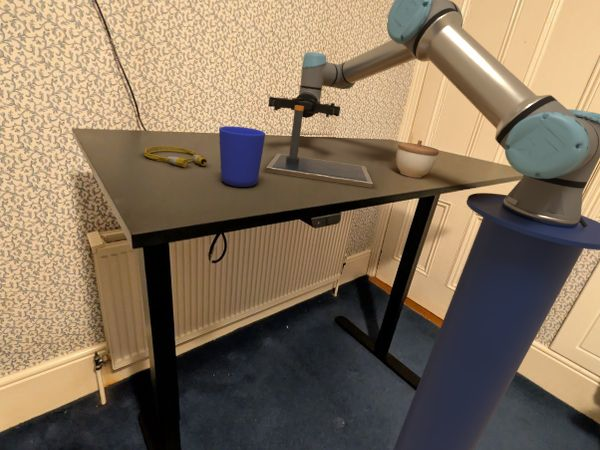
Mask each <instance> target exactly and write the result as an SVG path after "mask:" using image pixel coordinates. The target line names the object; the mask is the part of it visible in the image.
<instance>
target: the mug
mask: <svg viewBox="0 0 600 450" xmlns="http://www.w3.org/2000/svg"><path fill="white" fill-rule="evenodd" d="M218 133H219V135H218V136H219V154H220V156H219V157H220V175H221V179H222V182H224V183H225V184H226V185H228V186H231V187H235V188H237V187H238V188H249V187H253V186H255V185H256V184H257V182H258V180H259V177H260V170H261V163H262V162H261V161H262V157H263V152H264V145H265V139H266V132H265V131H263V130H260V129H256V128H251V127H244V126H232V125H231V126H220V127H219V129H218Z"/></svg>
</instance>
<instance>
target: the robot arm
mask: <svg viewBox="0 0 600 450" xmlns="http://www.w3.org/2000/svg"><path fill="white" fill-rule="evenodd" d="M463 17H464V16H463V14H462V10H461V8H460V7H459V6H458V5H457V4H456V3H455V2H454V1H452V0H394V1H393V3H392V4H391V6H390V9H389V12H388V14H387V21H386V30H387V34H388V36H389V38H390V40H388V41H386V42H384V43H381V44H380V45H378V46H376V47H374V48H371V49H369V50H367V51H364V52H363V53H361V54H358V55H357V56H354V57H352V58H350V59H347V60H346V61H344V62H341V63H339V64H338V63H334V62H329V61H327V55H326V54H324V53H322V52H321V53H320V52H315V51H314V52H313V51H308V52H305V53H304V55H303V60H302V64H301V77H300V85H299V92H298V95H297V97H292V98H291V99H290V98H288V97H275V96H274V97H273V96H269V97H268V107H269V108H272V107H273V110H274V111H278V110H281V109H290V110H291V111H295V110H294V109H295V105H299V106H304V110H303V116H302V118H305V119H309V118H312V117H314V116H315V115H316V114H324V115H325V117H326V118H329V117H331V116H334V117H340V113H341V106H338V105H335V104H336V103H334V102H330V104H329V103H321V97H322V91H323V87H329V88H334V89H338V90H349V89H352V88H353V86H354V85H355V84H356V83H357V82H360V81H363V80H365V79H367V78H370V77H373V76H375V75H378V74H380V73H383V72H386V71H388V70H391V69H393V68H397V67H399V66H402V65H404V64H407V63H409V62H411V61H415V60H417V61H420V62H431V64H433V66H434V67H436V69H437V70H439V71H440V73H441V74H442V75H443V76H444V77H445V78H446V79H447V80H448V81H449V82H450V83H451V84H452V86H454V87H455V88H456V89H457V90H458V91H459V92H460V94H462V95H463V96H464V97H465V98H466V99H467V100H468V102H470V104H472V105H473V106H474V107H475V108H476V110H477V111H478V112H479V113H480V114H481V115H482V116H483V117H484V118H485V119H486V121H488V123H490V124H491V125H492V126H493V127H494V128H495V130H496V132H495V135H494V136H495V137H494V139H495V142H497V144H498V145H499V146H500V147H502V149H503V150H504V155H505V158H506V160H507V162H508V164H509V165H510V166H511V168H512V169H513V170H514V171H516V172H517V173H519V174H521V175H523V176H522V178H521V179H520V180H519V181H518V182H517V184H516V185H514V187H513V188H512V189H511V190H510V192H509V193H508V194H506V195H507V196H506V198H505V199H504V202H503V204H502V207H503V208H504V209H506V210H507V211H509V212H511V213H513V214H515V215H517V216H520V217H522V218H525V219H528V220H531V221H534V222H538V223H542V224H546V225H550V226H556V227H562V228H574V227H577V225H578V223H579V222H580V223H581V225H582V226H583V227H587V226H588V225H587V224H586V223H585V221H584V220H583V218H582V217H581V215H582V207H583V196H584V195H583V193H584V190H585V188H586V186H587V184H588V182H589V181H590V178H591V177H592V175H593V172H594V171H595V168H596V167H597V164H598V163H599V161H600V113H599V112H593V111H587V110H580V109H573V108H572V109H570V108H566V106H564V105H563V104H562V103H561V102H560V101H559V100H558V99H556V97H554V96H553V95H552V94H542V95H537V94H536V93H535V92H534V91H532V90H531V89H530V88H529V87H528V86H527V85H526V84H525V83H523V81H521V80H520V79H519V78H518V77H517V76H516V75H515V74H514V73H513V72H512V71H510V70H509V69H508V68H507V67H506V66H505V65H503V63H502V62H501V61H499V60H498V59H497V58H496V57H495V56H494V55H493V54H492V53H490V52H489V51H488V50H487V49H486V48H485V47H484V46H483V45H481V43H480V42H478V41H477V40H476V39H475V38H474V36H472V35H471V34H470V33H469V32H468V31H466V29H464V28H463V23H464V19H463Z"/></svg>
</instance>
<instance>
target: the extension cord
mask: <svg viewBox="0 0 600 450" xmlns="http://www.w3.org/2000/svg"><path fill="white" fill-rule="evenodd" d="M162 152H172V153H182V154H189V155H192V156H191V157H189V158H184V157H179V156H170V155H169V156H167V157H166V156H161V155H157V154H155V153H162ZM144 156H145V157H146V158H148V159H149V160H153V161H156V162H162V163H170V164H172V165H174V167H175V166H177V167H181V168H187V167H189V163H191V162H195V164H197V165H199V166H200V165H201V166H203V167H204V166H207V163H208V160H207V159H206V158H205V157H204V156H202V155H199V154H198V153H197V152H196V151H194V150H191V149H187V148H184V147H179V146H174V145H173V146H172V145H154V146H150V147H147V148H145V150H144Z"/></svg>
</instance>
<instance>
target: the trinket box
mask: <svg viewBox="0 0 600 450" xmlns="http://www.w3.org/2000/svg"><path fill="white" fill-rule="evenodd" d="M439 153H440V150H439V149H437V148H435V147H431V146H428V145H424V144H423V140H420V139H419V140H417V143H413V142H411V143H410V142H409V143H408V142H399V143H398V144H397V150H396V153H395V164H396V167H397V169H398V170H399V173H400V174H401V175H403V176H406V177H410V178H414V179H415V178H417V179H421V178H423V177H424V176H426V175H427V174H428V173H430V172H431V171H432V169H433V168H434V166H435V163H436V161H437V158H438V155H439Z"/></svg>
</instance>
